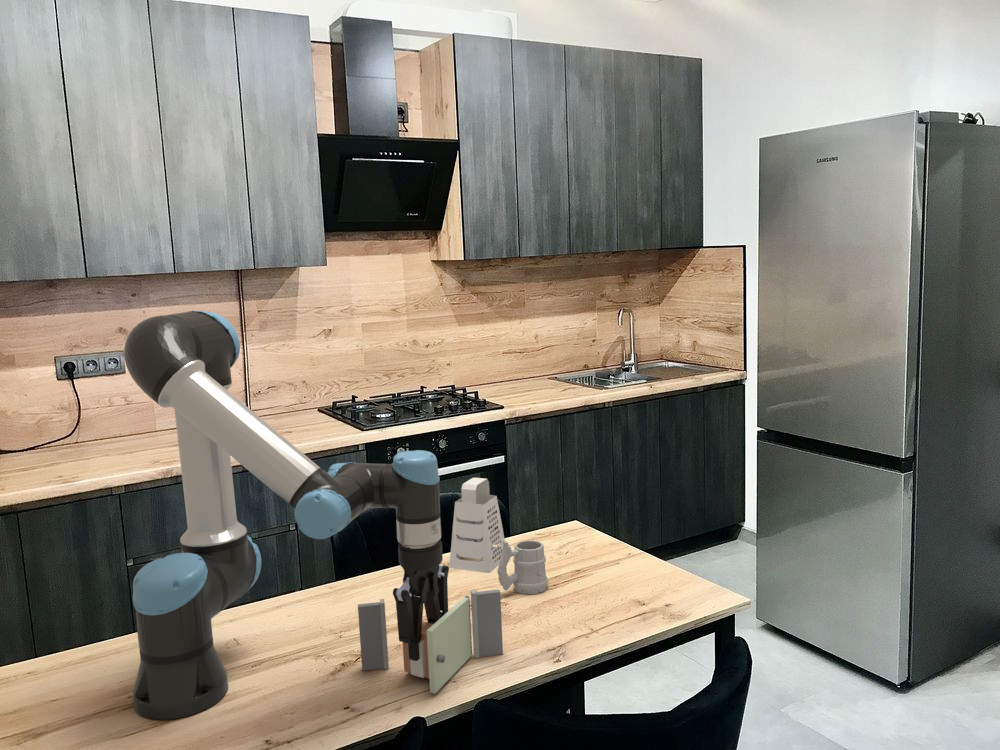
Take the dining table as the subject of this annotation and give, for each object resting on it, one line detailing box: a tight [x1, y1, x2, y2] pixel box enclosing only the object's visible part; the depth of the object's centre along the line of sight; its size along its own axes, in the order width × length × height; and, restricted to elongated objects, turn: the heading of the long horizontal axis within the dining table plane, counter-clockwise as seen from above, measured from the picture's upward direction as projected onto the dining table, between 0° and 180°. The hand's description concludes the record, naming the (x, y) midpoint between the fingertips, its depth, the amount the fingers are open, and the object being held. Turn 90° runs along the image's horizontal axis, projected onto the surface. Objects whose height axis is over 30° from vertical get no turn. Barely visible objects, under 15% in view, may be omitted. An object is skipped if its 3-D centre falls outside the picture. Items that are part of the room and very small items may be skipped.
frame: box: [357, 589, 504, 672], centre depth 149 cm, size 26×2×12 cm, turn 99°
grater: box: [448, 477, 505, 574], centre depth 196 cm, size 10×10×20 cm
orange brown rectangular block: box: [402, 620, 433, 679], centre depth 145 cm, size 7×4×8 cm, turn 59°
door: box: [427, 595, 473, 695], centre depth 144 cm, size 15×2×11 cm, turn 156°
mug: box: [496, 539, 549, 596], centre depth 179 cm, size 8×12×12 cm, turn 121°
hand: (426, 668), depth 145 cm, fingers closed on orange brown rectangular block, 4 cm apart
